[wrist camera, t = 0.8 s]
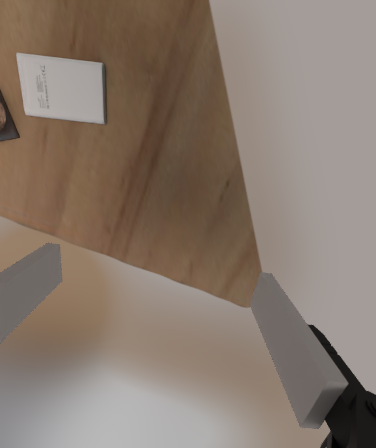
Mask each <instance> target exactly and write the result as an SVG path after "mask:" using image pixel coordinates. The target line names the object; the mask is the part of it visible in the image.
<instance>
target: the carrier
mask: <svg viewBox="0 0 376 448" xmlns="http://www.w3.org/2000/svg"><path fill="white" fill-rule="evenodd" d="M0 101H1V103H2V105H3V107H4V110H5V115H6V122H5V125H4V128H3V129H2V130H1V131H0V141H4V140H9V139H14V138H19V134H18V132H17V129H16V127H15V125H14V122H13V120H12V117H11V115H10V113H9V110H8V108H7V105H6V103H5V101H4V98H3V96H2V93H1V91H0Z"/></svg>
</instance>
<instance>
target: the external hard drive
mask: <svg viewBox="0 0 376 448" xmlns="http://www.w3.org/2000/svg"><path fill="white" fill-rule="evenodd" d="M16 57H17V63H18V70H19V76H20V83H21V90H22V97H23V104H24V111H25V114H26V115H28V116H34V117H43V118H52V119H60V120H69V121H78V122H87V123H96V124H105V125H106V97H105V65H104V64H103V63H99V62H91V61H82V60H74V59H65V58H57V57H49V56H40V55H32V54H24V53H17V54H16Z"/></svg>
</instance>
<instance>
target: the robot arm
mask: <svg viewBox="0 0 376 448" xmlns="http://www.w3.org/2000/svg"><path fill="white" fill-rule="evenodd" d="M61 282H62V269H61V256H60V245H59V244H52V243H46V244H45V245H43V246H42V247H40V248H39V249H37V250H35V251H34V252H32V253H31V254H29V255H27V256H26V257H24V258H23V259H21V260H20V261H18V262H16V263H15V264H13V265H12V266H10V267H8V268H7V269H5V270H4V271H2V272H0V343H1V342H2V341H3V340H4V339H5V338H6V337H7V336H8V335H9V334H10V333H11V332H12V331H13V330H14V329H15V328H16V327H17V326H18V325H19V324H20V323H21V322H22V321H23V320H24V319H25V318H26V317H27V316H28V315H29V314H30V313H31V312H32V311H33V310H34V309H35V308H36V307H37V306H38V305H39V304H40V303H41V302H42V301H43V300H44V299H45V298H46V297H47V296H48V295H49V294H50V293H51V292H52V291H53V290H54V289H55V288H56V287H57V286H58V285H59V284H60V283H61ZM250 307H251V309H252V311H253V314H254V316H255V318H256V321H257V323H258V326H259V328H260V331H261V333H262V335H263V338H264V340H265V343H266V345H267V348H268V350H269V352H270V355H271V357H272V360H273V362H274V365H275V367H276V370H277V372H278V374H279V377H280V379H281V382H282V384H283V387H284V389H285V391H286V394H287V396H288V399H289V401H290V403H291V406H292V408H293V411H294V413H295V416H296V418H297V420H298V423H299V425H300V427H302V428H313V429H319V428H320V426H321V425H322V423H323V422H324V420H325V421H326V423H327V425H328V426H329V428H330V430H331V431H330V433H329V434H328V436H327V437H326V439H325V440H324V442H323V443H322V445H321V447H320V448H326V447H327V448H376V395H375V394H373V393H371V392H369V391H366V390H365V389H364V387H363V386H362V385H361V384H360V382H359V381H358V380H357V378H356V377H355V375H354V374H353V373H352V372H351V370H350V369H349V368H348V366H347V365H346V364H345V362H344V361H343V360H342V358H341V357H340V356H339V355H338V354H337V352H336V350H335V349H334V348H333V346H331V344H330V342H329V341H328V340H327V338H326V337H325V336H324V335H323V334H322V333H321V332H320V331H319V330H318V329H317V328H316V327H315V326H314V325H308V324H307V323H306V322H305V320H304V319H303V318H302V316H301V315H300V313H299V312H298V311H297V309H296V308H295V306H294V305H293V303H292V302H291V301H290V299H289V298H288V296H287V295H286V294H285V292H284V291H283V289H282V288H281V287H280V285H279V284H278V282H277V281H276V279H275V278H274V277H273V275H272V274H269V273H262V272H260V276H259V279H258V282H257V285H256V288H255V291H254V294H253V297H252V300H251V303H250Z"/></svg>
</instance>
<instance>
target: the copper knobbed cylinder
mask: <svg viewBox="0 0 376 448" xmlns="http://www.w3.org/2000/svg"><path fill="white" fill-rule="evenodd" d="M5 122H6V115H5V110H4V107H3V105H2V103H1V101H0V131H1V130H2V129H3V128H4V125H5Z"/></svg>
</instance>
